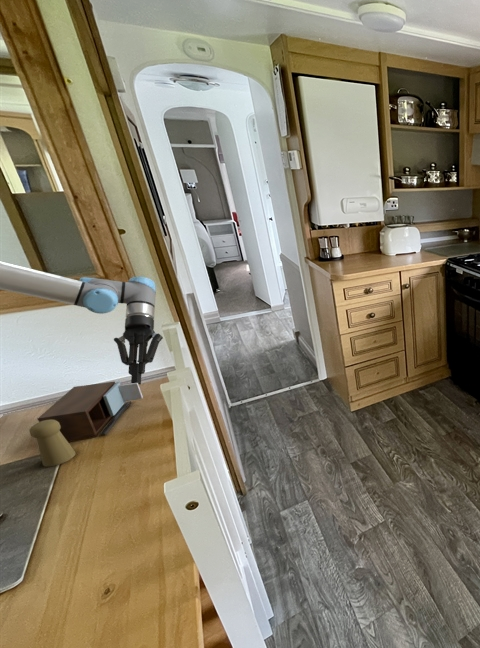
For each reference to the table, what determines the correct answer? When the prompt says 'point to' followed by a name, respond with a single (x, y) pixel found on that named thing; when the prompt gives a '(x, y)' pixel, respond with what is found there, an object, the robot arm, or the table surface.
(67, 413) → the cabinet
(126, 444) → the table surface
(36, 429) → the cork
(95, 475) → the table surface
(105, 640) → the table surface
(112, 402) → the sliding door
